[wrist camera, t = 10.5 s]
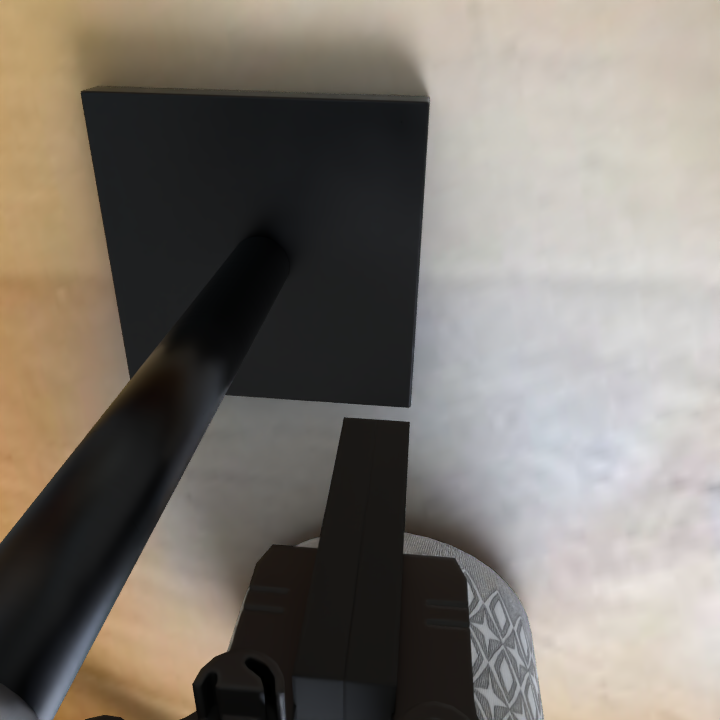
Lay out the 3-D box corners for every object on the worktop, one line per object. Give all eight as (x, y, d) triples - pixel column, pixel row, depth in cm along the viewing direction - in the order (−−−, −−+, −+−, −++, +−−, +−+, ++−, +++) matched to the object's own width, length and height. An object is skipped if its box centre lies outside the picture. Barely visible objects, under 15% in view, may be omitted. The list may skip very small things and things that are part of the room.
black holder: (88, 85, 26) (415, 86, 28) (136, 374, 32) (401, 362, 34) (-848, 575, 4) (974, 457, 6) (-143, 1171, 11) (640, 1044, 12)
